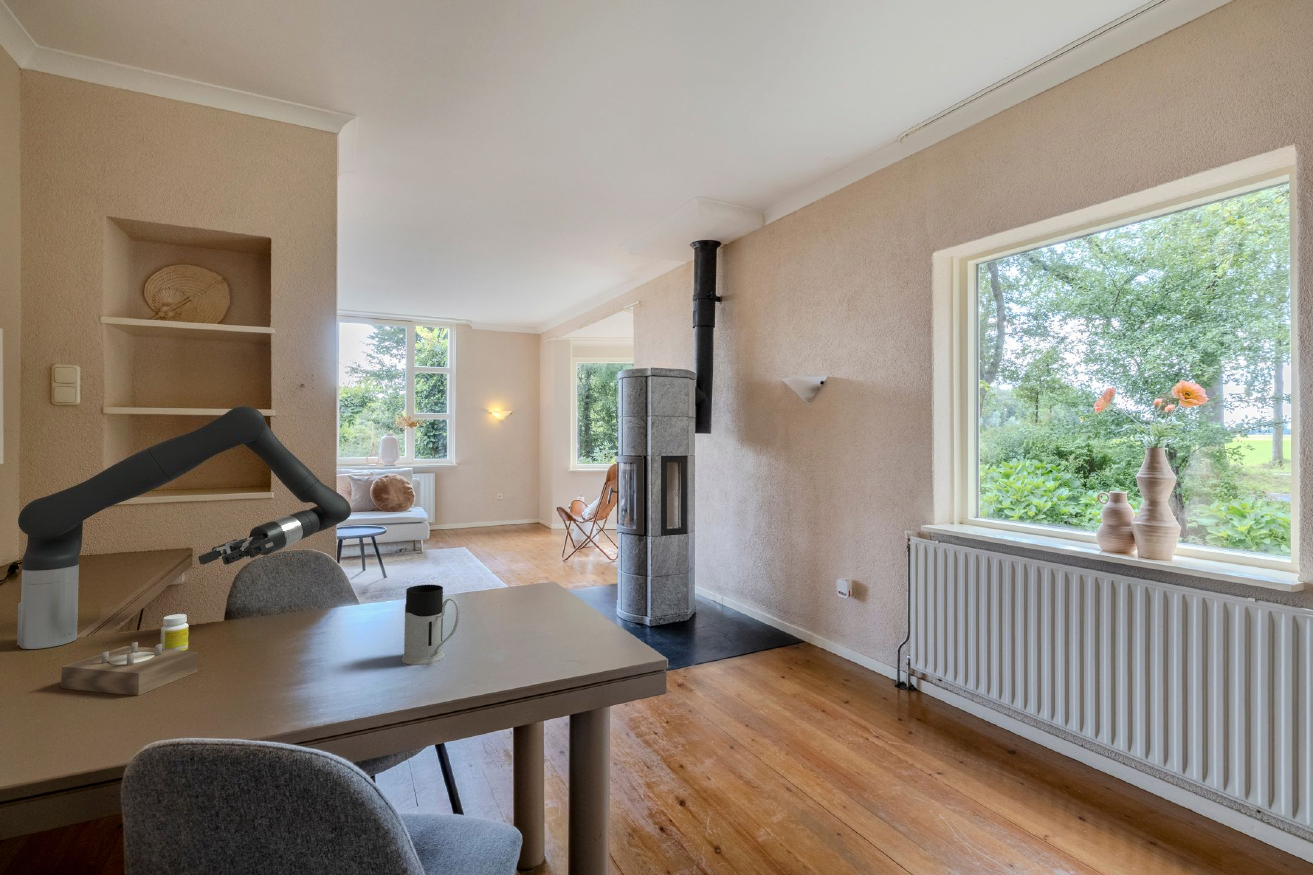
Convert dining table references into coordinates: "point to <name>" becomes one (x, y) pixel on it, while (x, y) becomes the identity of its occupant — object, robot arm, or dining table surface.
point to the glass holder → (425, 624)
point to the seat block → (129, 670)
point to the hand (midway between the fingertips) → (211, 560)
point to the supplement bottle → (175, 632)
